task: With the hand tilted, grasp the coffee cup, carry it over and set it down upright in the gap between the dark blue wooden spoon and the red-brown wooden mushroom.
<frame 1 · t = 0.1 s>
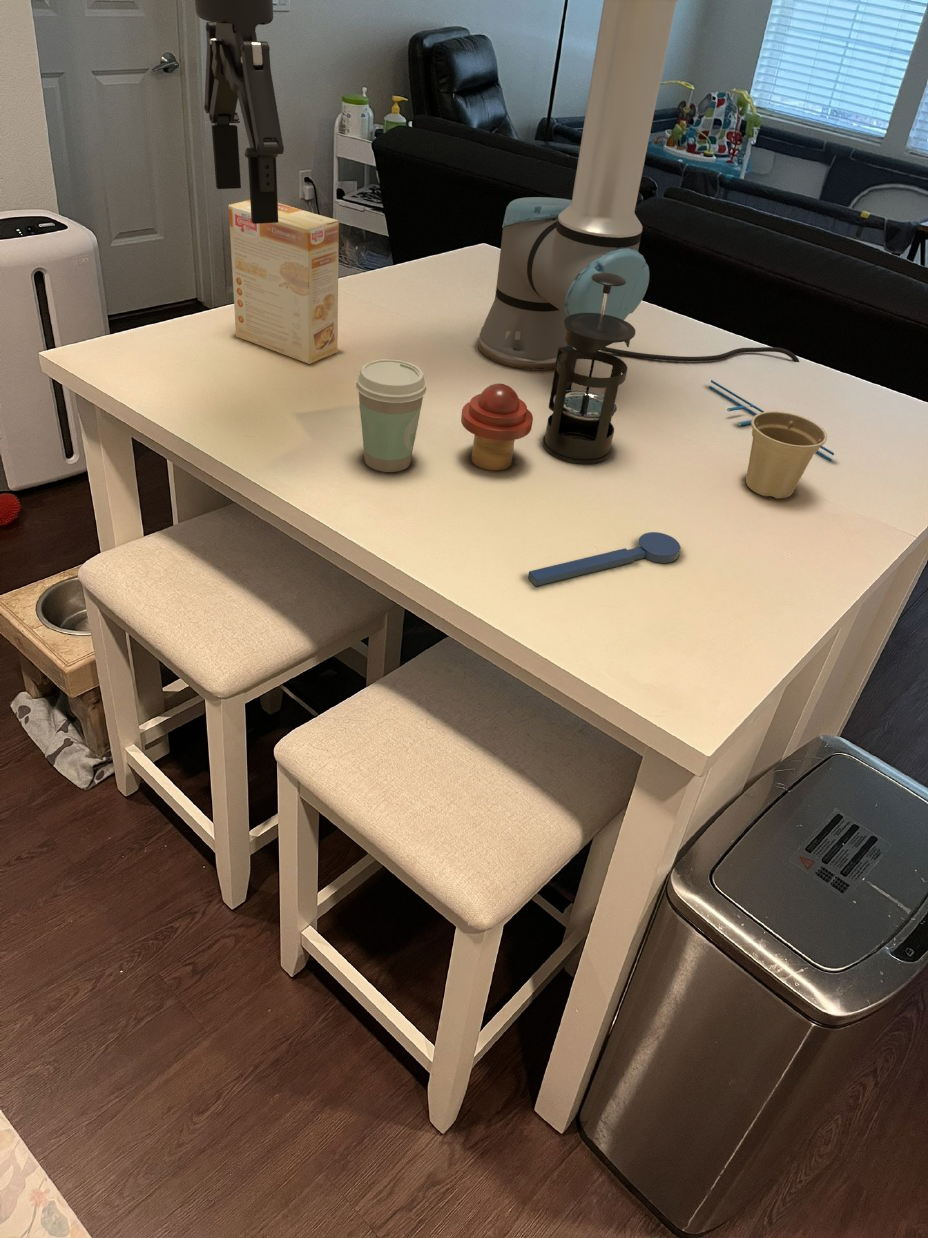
hand: (246, 204, 103), 28 cm above the table, tool pointing down, fingers open, 13 cm apart
flower pot: (768, 488, 122), on the table
french press: (574, 446, 126), on the table
chopsticks: (753, 426, 136), on the table
spoon: (606, 563, 104), on the table
mushroom: (491, 460, 120), on the table
coffeecake box: (286, 345, 143), on the table
coffee cup: (387, 462, 117), on the table
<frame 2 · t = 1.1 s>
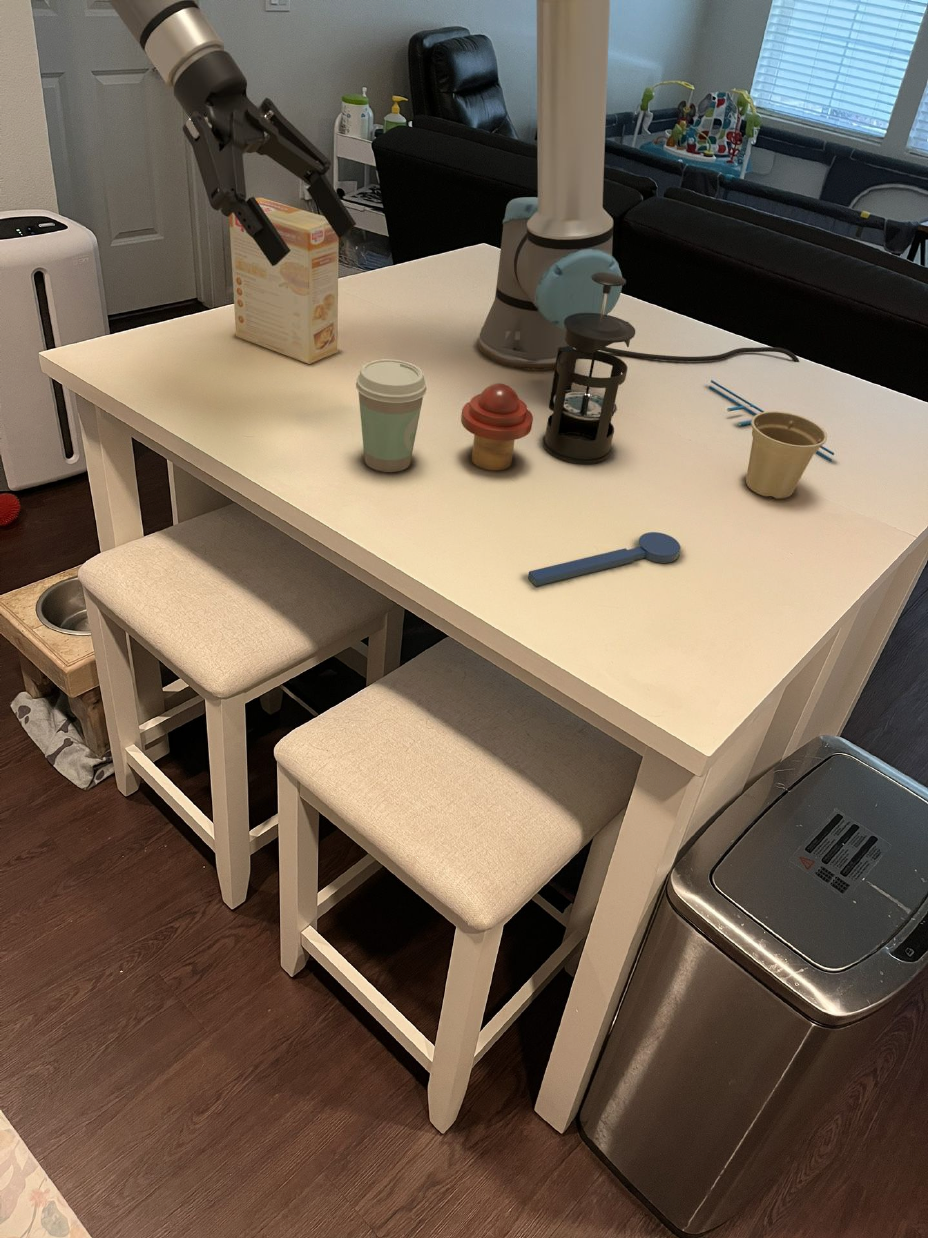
hand: (316, 244, 105), 24 cm above the table, tool tilted 45°, fingers open, 13 cm apart
nothing on the table moved.
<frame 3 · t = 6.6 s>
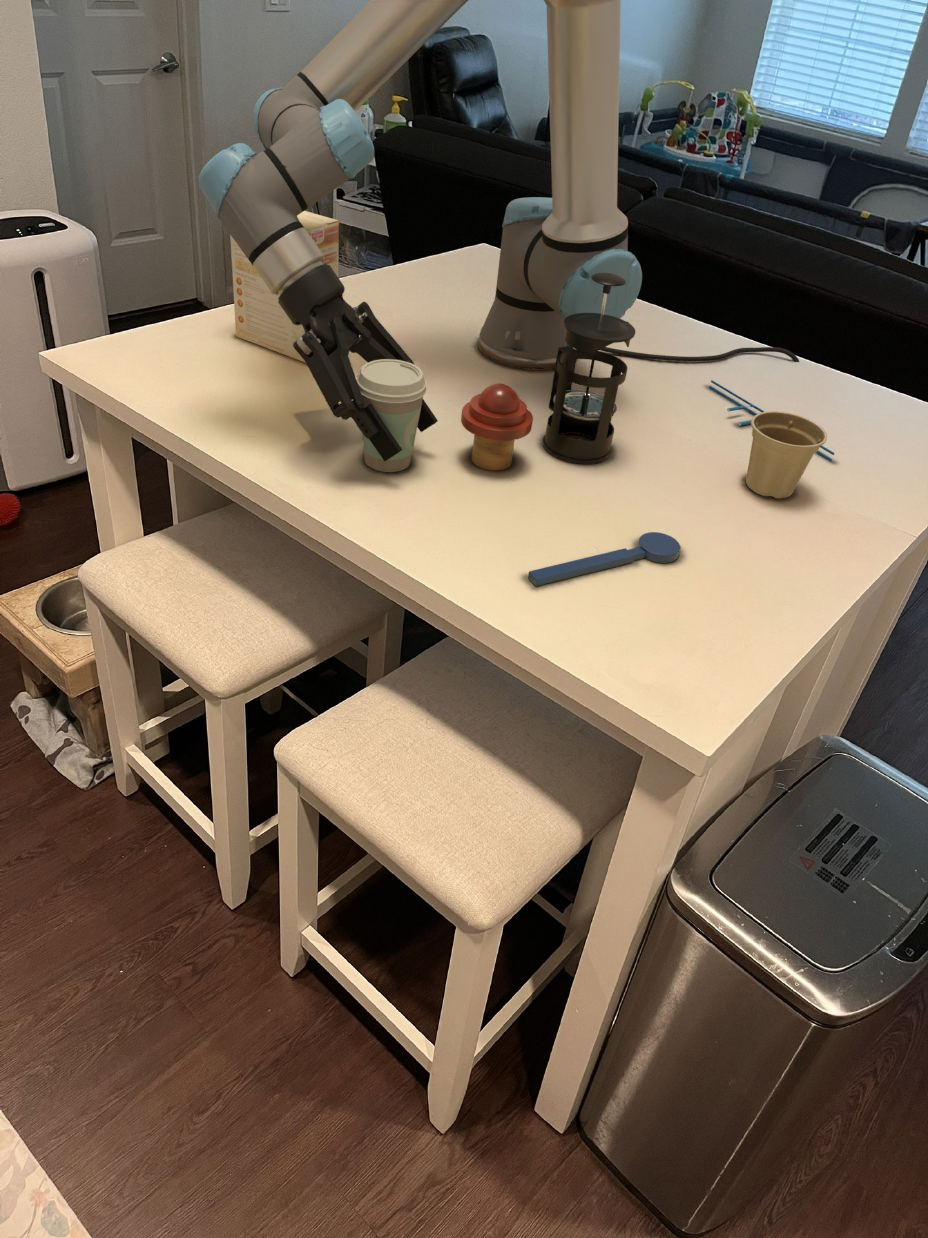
hand: (412, 440, 114), 4 cm above the table, tool tilted 45°, fingers closed on coffee cup, 8 cm apart
coffee cup: (387, 462, 117), on the table, touching gripper
everything else where it was.
when the fingers open (4 cm above the table, at t = 16.8 s): coffee cup stays where it is, on the table.
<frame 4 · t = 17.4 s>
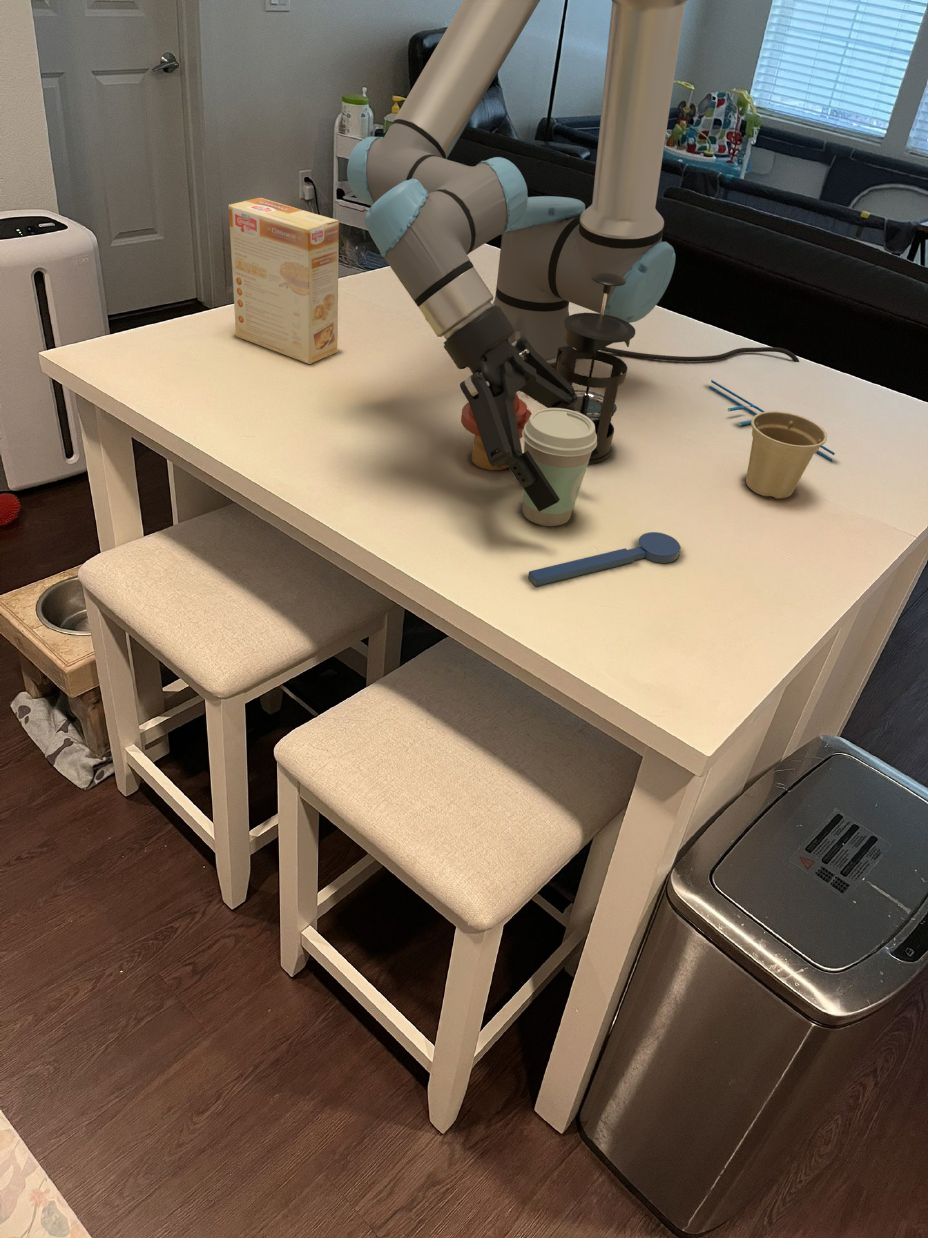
hand: (571, 480, 107), 5 cm above the table, tool tilted 45°, fingers open, 13 cm apart
coffee cup: (545, 514, 111), on the table
everything else where it was.
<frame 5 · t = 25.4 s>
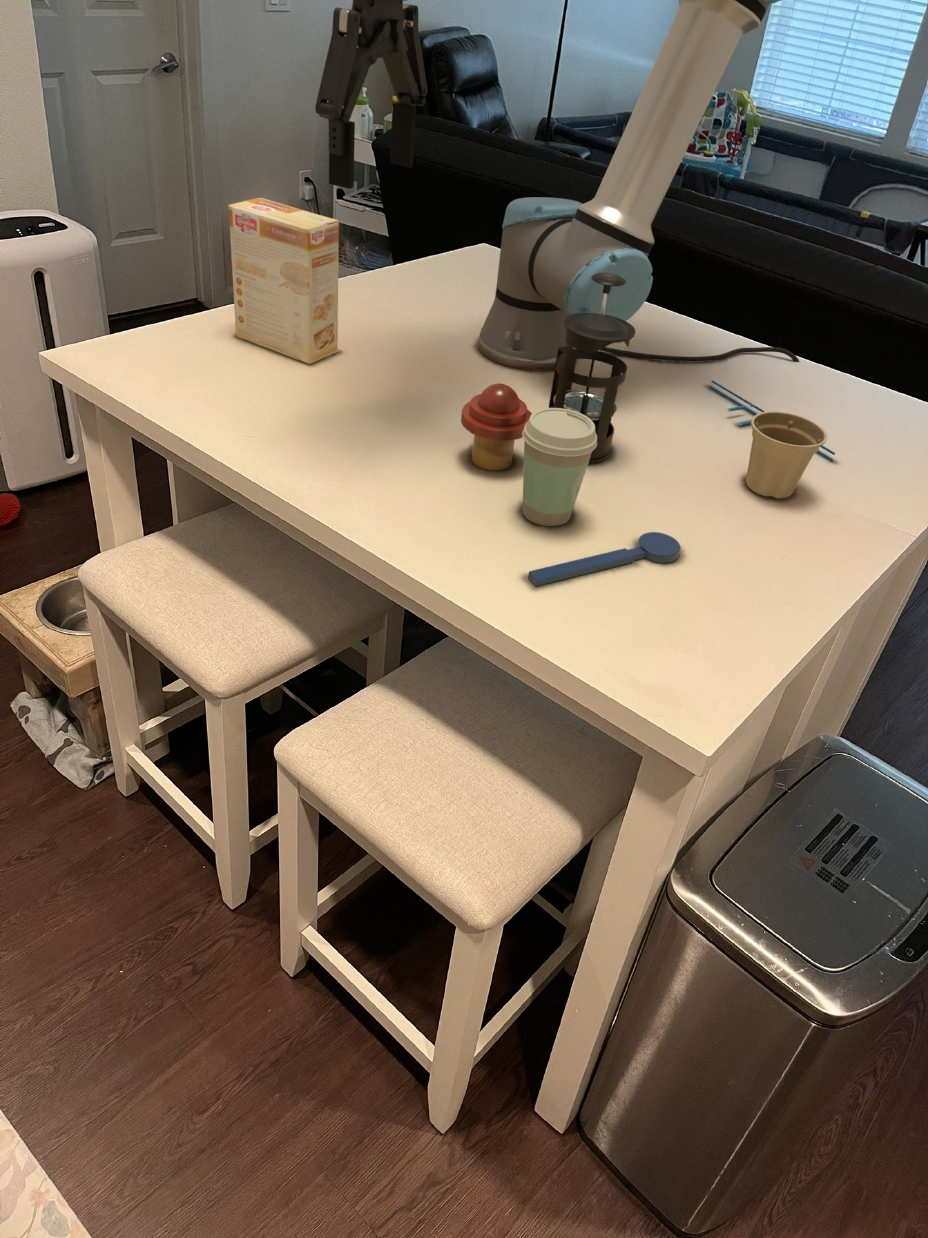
hand: (372, 175, 107), 31 cm above the table, tool pointing down, fingers open, 13 cm apart
nothing on the table moved.
at the end: coffee cup inside the target area (0.1 cm from its centre), on the table; coffee cup tilted 0°; mushroom moved 0.0 cm from its start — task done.
